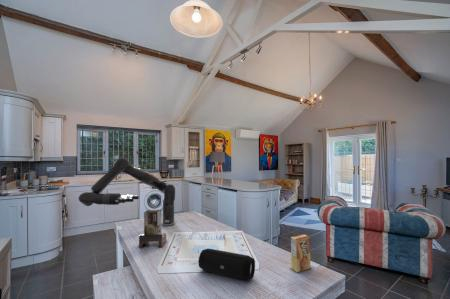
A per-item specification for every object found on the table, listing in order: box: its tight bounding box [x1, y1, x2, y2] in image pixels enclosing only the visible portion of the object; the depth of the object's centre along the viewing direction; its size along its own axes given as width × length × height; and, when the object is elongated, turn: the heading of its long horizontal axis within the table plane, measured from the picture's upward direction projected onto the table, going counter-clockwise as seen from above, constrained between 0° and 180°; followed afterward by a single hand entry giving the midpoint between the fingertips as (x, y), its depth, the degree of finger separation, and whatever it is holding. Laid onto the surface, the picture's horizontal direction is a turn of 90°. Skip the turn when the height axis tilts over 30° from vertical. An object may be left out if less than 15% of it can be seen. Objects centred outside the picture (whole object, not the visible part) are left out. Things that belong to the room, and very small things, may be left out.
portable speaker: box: [197, 248, 256, 281], centre depth 101 cm, size 26×10×10 cm, turn 66°
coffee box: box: [143, 209, 162, 235], centre depth 137 cm, size 9×6×16 cm
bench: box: [138, 232, 167, 249], centre depth 137 cm, size 10×14×8 cm
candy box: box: [290, 234, 311, 273], centre depth 105 cm, size 9×4×15 cm, turn 116°
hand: (135, 198), depth 143 cm, fingers open, 8 cm apart
